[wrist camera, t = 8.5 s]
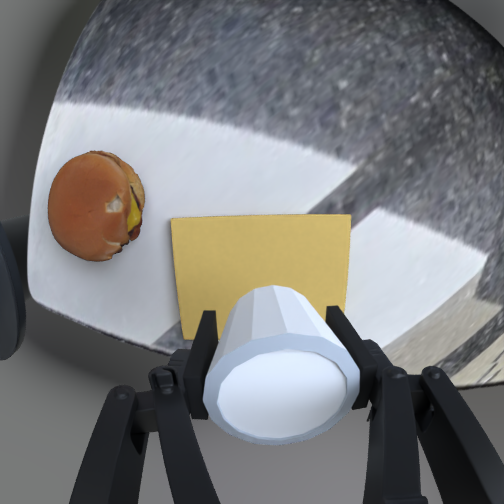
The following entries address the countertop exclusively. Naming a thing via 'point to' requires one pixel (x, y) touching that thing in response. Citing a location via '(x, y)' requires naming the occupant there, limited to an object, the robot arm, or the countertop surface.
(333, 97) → the countertop surface
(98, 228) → the burger
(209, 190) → the countertop surface
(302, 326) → the shot glass
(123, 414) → the robot arm
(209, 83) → the countertop surface
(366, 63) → the countertop surface
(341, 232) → the cloth
